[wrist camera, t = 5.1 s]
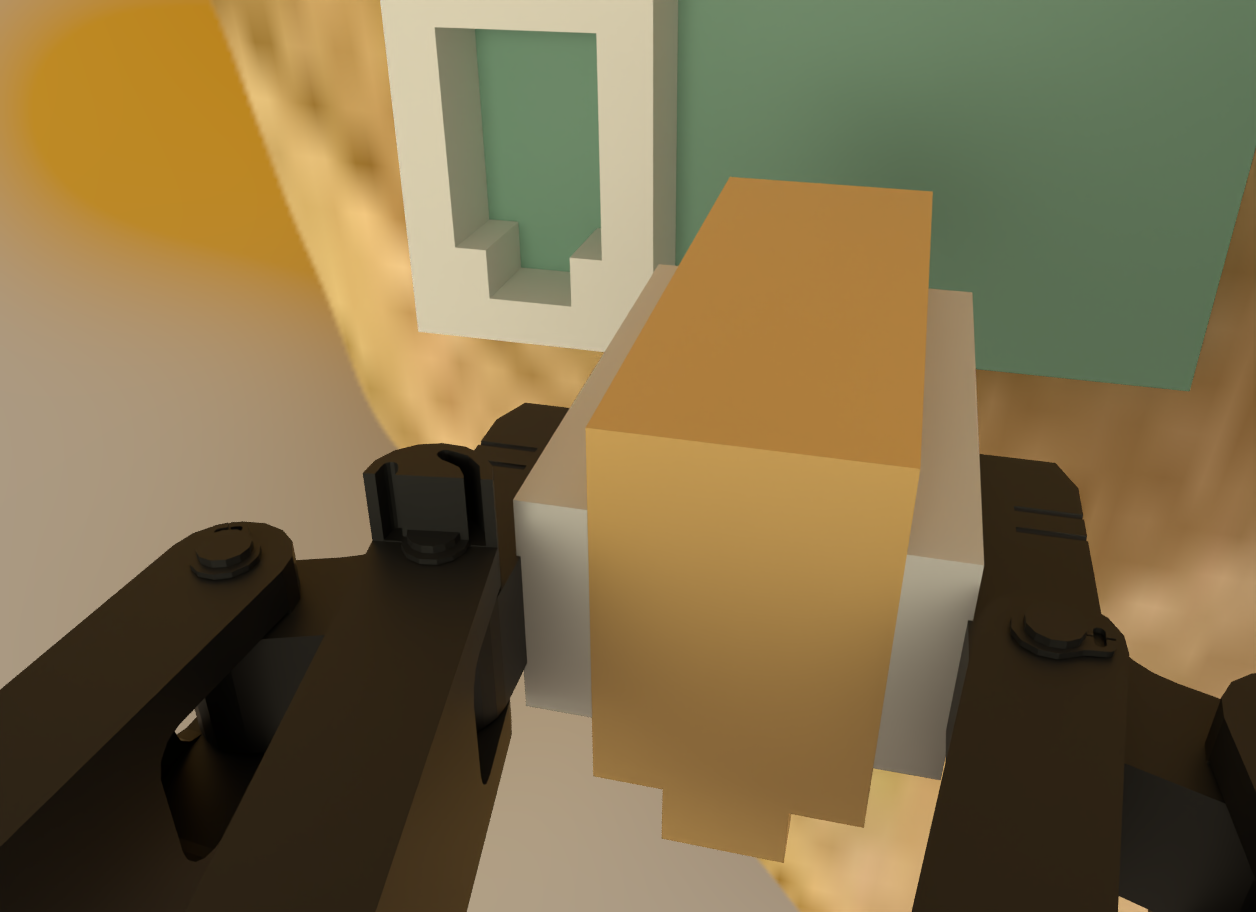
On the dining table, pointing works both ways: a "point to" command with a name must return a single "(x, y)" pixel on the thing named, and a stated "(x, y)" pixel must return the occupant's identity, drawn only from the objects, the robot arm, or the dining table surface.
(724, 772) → the plug
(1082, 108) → the board
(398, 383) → the dining table surface
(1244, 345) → the dining table surface
